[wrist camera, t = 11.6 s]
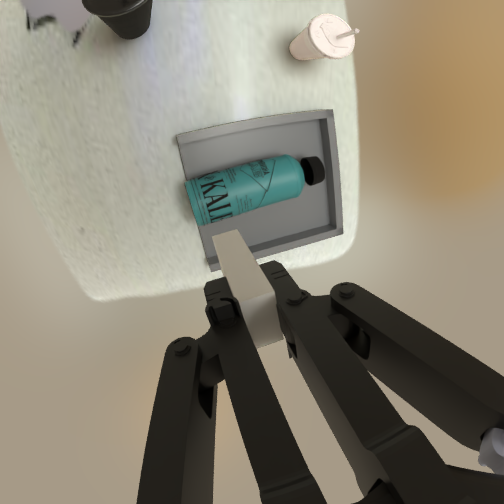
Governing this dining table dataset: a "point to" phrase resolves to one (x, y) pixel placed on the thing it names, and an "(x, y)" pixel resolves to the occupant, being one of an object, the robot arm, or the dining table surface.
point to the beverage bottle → (251, 186)
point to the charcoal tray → (265, 146)
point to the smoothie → (324, 39)
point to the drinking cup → (122, 15)
